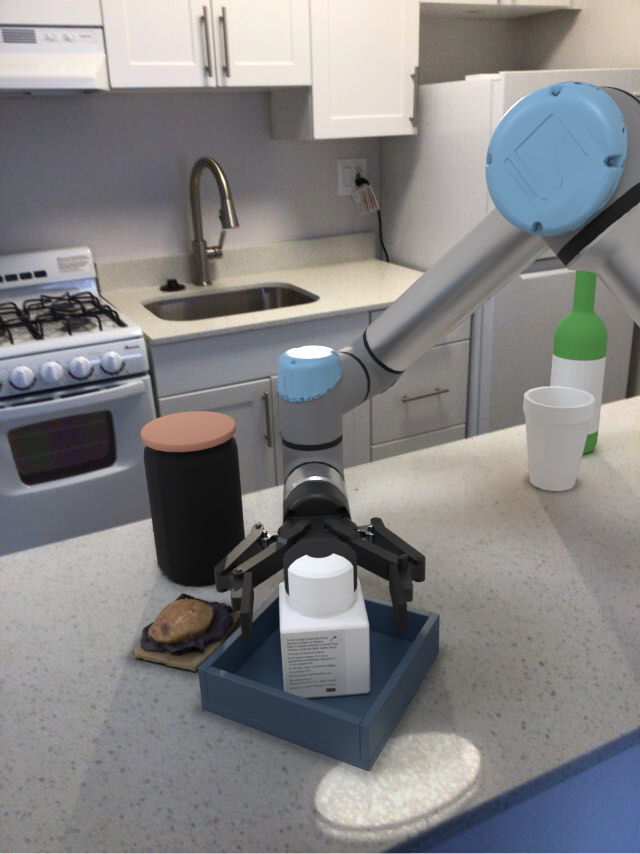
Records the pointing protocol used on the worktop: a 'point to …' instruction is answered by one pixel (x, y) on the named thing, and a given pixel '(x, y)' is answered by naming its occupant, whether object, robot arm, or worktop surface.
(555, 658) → the worktop surface
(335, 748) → the tote
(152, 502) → the coffee jar
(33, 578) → the worktop surface
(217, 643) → the bread roll
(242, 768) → the worktop surface
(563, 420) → the foam cup
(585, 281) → the wine bottle
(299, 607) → the container
